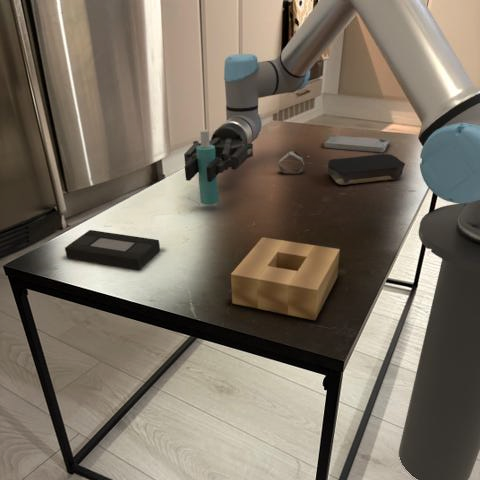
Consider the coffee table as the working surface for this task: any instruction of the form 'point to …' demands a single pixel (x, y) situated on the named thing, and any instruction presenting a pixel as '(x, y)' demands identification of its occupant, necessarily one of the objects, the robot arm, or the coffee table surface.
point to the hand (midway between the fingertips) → (198, 174)
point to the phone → (356, 143)
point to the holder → (285, 277)
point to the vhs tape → (113, 249)
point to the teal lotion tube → (204, 159)
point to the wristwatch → (295, 158)
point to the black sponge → (365, 169)
